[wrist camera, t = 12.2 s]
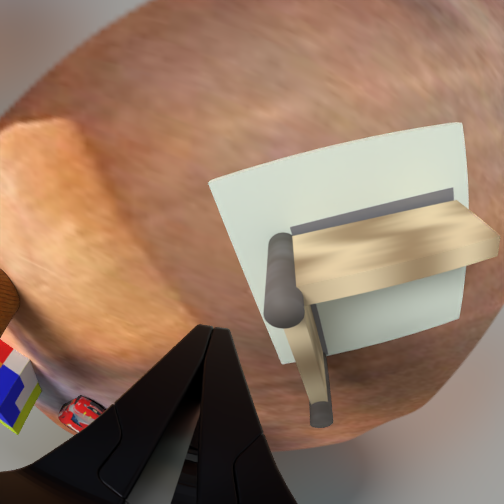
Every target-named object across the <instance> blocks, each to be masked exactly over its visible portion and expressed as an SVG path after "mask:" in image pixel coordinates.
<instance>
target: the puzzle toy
mask: <svg viewBox="0 0 504 504" xmlns="http://www.w3.org/2000/svg"><path fill="white" fill-rule="evenodd" d="M40 393H41V388H40V386H39V383H38V381H37V378H36V375H35V373H34V370H33V367H32V364H31V361H30V359H28V358H27V357H25V356H24V355H22V354H21V353H19V352H18V351H16V350H15V349H13V348H12V347H10V346H9V345H7V344H6V343H4V342H3V341H2V340H0V423H2V424H3V425H4V426H6V427H7V428H8V429H10V430H11V431H13V432H14V433H16V434H17V435H18V434H19V432H20V430H21V428H22V427H23V425H24V423H25V421H26V419H27V417H28V415H29V413H30V411H31V409H32V407H33V406H34V404H35V402H36V400H37V399H38V397H39V395H40Z"/></svg>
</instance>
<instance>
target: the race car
mask: <svg viewBox="0 0 504 504" xmlns="http://www.w3.org/2000/svg"><path fill="white" fill-rule="evenodd" d="M104 411H105V410H104V409H103V408H101V407H100V406H99V405H97V404H96V403H94V402H92V401H91V400H89V399H87V398H84V397H83V396H81V395H80V396H78V398H75V399H74V400H72V401H70V402H68V403H66V404H64V405H63V406H62V408H61V410H60V412H59V420H60V421H61V422H62V423H63V424H64V425H65V426H67V427H68V428H70V429H71V430H73V431H75V432H77V433H79V432H80V431H81V430H83V429H84V428H85V427H87V426H88V425H89V424H90V423H92V422H93V421H94V420H95V419H96V418H97V417H99V416H100V415H101V414H102V413H103V412H104Z"/></svg>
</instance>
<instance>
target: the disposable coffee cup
mask: <svg viewBox="0 0 504 504" xmlns="http://www.w3.org/2000/svg"><path fill="white" fill-rule="evenodd" d="M19 305H20V302H19V297H18V294H17V291H16V289H15V287H14V286H13V284H12V282H11V281H10V279H9V278H8V277H7V276H6V274H5V273H4V272H3V271H2V270H1V269H0V338H1V336H2V334H3V332H4V330H5V329H6V327H7V326H8V324H9V322H10V321H11V319H12V317H13V316H14V314H15V313H16V311H17V309H18V308H19Z"/></svg>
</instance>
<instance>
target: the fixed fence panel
mask: <svg viewBox="0 0 504 504" xmlns="http://www.w3.org/2000/svg"><path fill="white" fill-rule="evenodd" d="M304 309H305V315H304V318H303V320H302V321H301V322H300V323H299V324H298V325H296V326H294V327H291V328H286V329H284V332H285V334H286V337H287V340H288V343H289V345H290V348H291V351H292V354H293V356H294V359H295V362H296V364H297V367H298V370H299V373H300V375H301V378H302V381H303V384H304V386H305V389H306V392H307V395H308V397H309V405H310V425H311V426H312V427H315V428H324V427H327V426H330V425H331V424H332V423H333V413H332V403H331V393H330V384H329V375H328V367H327V359H326V354H325V353H324V352H323V351H322V347H321V343H320V339H319V335H318V332H317V328H316V324H315V320H314V316H313V313H312V309H311V305H306V306H304Z"/></svg>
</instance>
